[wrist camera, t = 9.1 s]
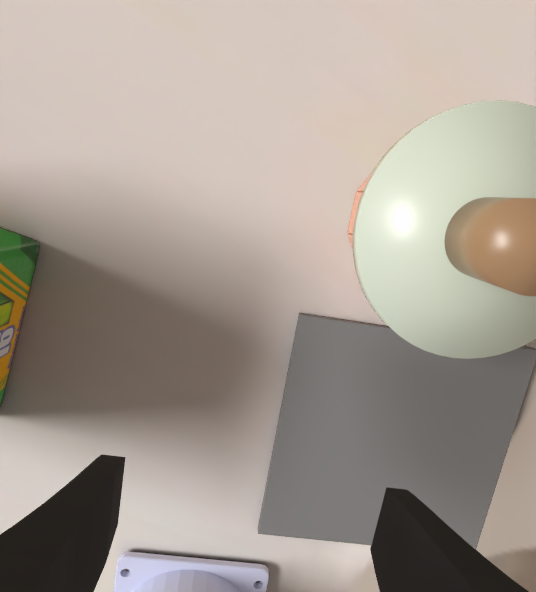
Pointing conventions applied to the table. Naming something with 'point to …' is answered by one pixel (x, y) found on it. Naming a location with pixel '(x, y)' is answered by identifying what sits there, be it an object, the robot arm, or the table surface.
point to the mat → (387, 431)
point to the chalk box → (13, 293)
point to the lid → (454, 232)
